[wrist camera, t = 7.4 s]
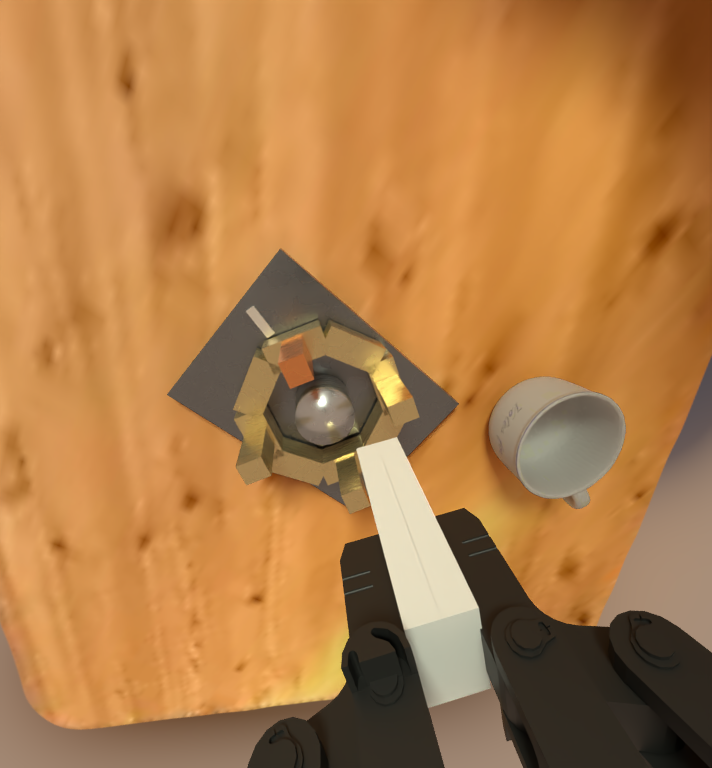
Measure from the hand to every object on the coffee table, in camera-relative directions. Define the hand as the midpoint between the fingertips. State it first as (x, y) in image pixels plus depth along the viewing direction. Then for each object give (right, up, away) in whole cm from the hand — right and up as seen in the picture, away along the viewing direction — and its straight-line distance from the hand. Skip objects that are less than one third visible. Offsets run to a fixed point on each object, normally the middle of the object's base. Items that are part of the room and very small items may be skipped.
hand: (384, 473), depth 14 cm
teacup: (+18, -1, +28) cm, 33 cm away
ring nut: (-4, +2, +21) cm, 21 cm away
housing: (-4, +2, +23) cm, 23 cm away
